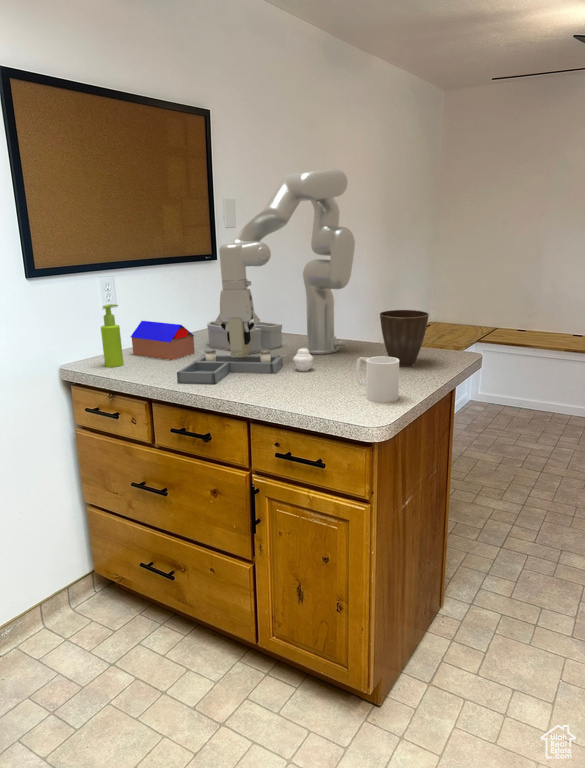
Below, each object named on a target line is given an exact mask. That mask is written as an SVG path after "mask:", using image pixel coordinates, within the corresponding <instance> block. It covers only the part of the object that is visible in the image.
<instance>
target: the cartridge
mask: <svg viewBox="0 0 585 768" xmlns="http://www.w3.org/2000/svg"><path fill="white" fill-rule="evenodd" d="M271 350H272V349H266V348H262V349H261V350H260V352H259V356H260V360H261V362H269V363H271V355H272V354H271V353H272V351H271Z"/></svg>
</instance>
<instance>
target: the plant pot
mask: <svg viewBox="0 0 585 768" xmlns="http://www.w3.org/2000/svg"><path fill="white" fill-rule="evenodd" d="M429 315H430V314H429V313H428V312H426V311H424V310H423V311H422V310H416V309H415V310H412V309H395V310H386V311H382V312H379V319H380V327H381V334H382V338H383V343H384V347H385V349H386V353H387V357H394V358H397V359H399V367H410V366H414V365H415V363H416V360H417V359H418V355H419V354H420V351H421V348H422V345H423V342H424V338H425V334H426V331H427V328H428V327H427V326H428V320H429Z"/></svg>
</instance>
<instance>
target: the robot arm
mask: <svg viewBox="0 0 585 768" xmlns="http://www.w3.org/2000/svg"><path fill="white" fill-rule="evenodd" d="M348 184H349V183H348V178H347V176H346V174H345V172H344V171H343V170H341V169H339V168H333V169H324V170H323V169H322V170H313V171H303V172H295V173H289V174H287V175H285V176H284V177H283V178H282V179H281V180H280V182H279V183H278V185H277V187H276V189H275V190H274V192H273V194H272V195H271V197H270V198H269V200H268V201H267V204H265V205H264V208H263V209H262V210H261V211H260V212H258V213H257V214H256V215H254V216H253V218H252V219H251V220H249V221H248V222H247V223H246V224H245V225H244V226H243V227H242V229H240V231H239V233H238V234H237V236H236V237H235V238H234V241H233V242H232V243H226V244H222V245H220V247H219V249H218V250H219V251H218V252H219V253H218V254H219V262H220V264H219V265H220V275H221V285H222V289H221V290H220V296H219V314H218V316H217V317H216V319H215V320H214V321H215V322H216V323H217V324H218V325H220V326H221V327H222V328H223V329H224V330H225V331H226V332H227V339H228V342H229V345H230V336H229V324H228V319H242V322H243V325H244V328H245V332H244V343H245V345H247V344H248V343H249V342H250V340H251V338H250V330H251V329H252V328H253V327H254V325H256V324H257V323H258V322H261V319H260V318H259V316H258V315H257V314H256V313H255V307H254V301H253V295H252V291H251V289H250V288H248V287H249V286H252V281H251V280H248V278H247V269H246V268H247V267H262V266H265V265H266V264H267V263H268V262H269V261H270V260H271V256H272V255H271V254H272V251H271V249H270V247H269V246H268V244H266V243H264V242H262V241H261V240H263V239H264V238H265V237H266V236H269V235H271V234H272V233H274V232H277V231H279V230H282V228H284V227H285V226H287V225H288V223H289V221H290V219H291V218H292V216H293V214H294V213H295V211H296V209H297V208H298V206H299V205H300V203H301V202H303V201H304V202H305V201H306V202H307V201H310V202H311V205H312V206H313V210H314V215H313V223H312V233H311V242H310V244H311V245H310V247H311V250H312V252H313V253H314V254H315V255H318V256H329V258H330V259H325V258H323V259H322V258H321V259H319V258H317V259H312V260H310V261H308V262H307V263H306V264H305V265H304V267H303V271H302V277H303V278H302V279H303V283H304V288H305V297H306V339H307V340H306V341H307V342H306V343H307V345H305V346H303V347H302V349H303V348H305V349H308V351H309V353H310V354H312V355H324V354H332V353H336V352H338V351H339V347H347V346H348V341H347V340H343V339H341V340H340V339H339V340H338V339H337V336H335V299H334V294H333V292H332V290H342V289H344V288H345V287H346V286H347V285H348V284H349V282H350V281H351V277H352V269H353V262H354V255H355V246H356V242H355V241H356V240H355V237H354V234H353V232H352V230H351V229H349V228H348V227H345V226H339V225H340V208H339V205H338V202H337V201H336V199H335V198H338V197H340V196H342V195H343V194H344V193H345V192H346V190H347V187H348ZM251 320H252V321H253V322H252V323H251V324H250V323H249V322H250V321H251ZM224 322H225V323H224Z"/></svg>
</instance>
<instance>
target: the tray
mask: <svg viewBox="0 0 585 768" xmlns="http://www.w3.org/2000/svg"><path fill="white" fill-rule="evenodd" d="M229 372H230V366H229V362H193V361H192V362H191V363H189V364H188V365H186V366H185V367H183V368H181V369H180V370H178V371H177V372H176V378H177V379H176V380H177V381H176V382H177V384H189V385H190V384H193V385H194V384H195V385H198V384H199V385H216V384H218V383H219V382H220V381H221V380H223V379H224V378H225V377H226V376H227V375H228V373H229ZM230 373H231V372H230ZM230 373H229V374H230ZM224 376H225V377H224ZM223 377H224V378H223ZM222 378H223V379H222ZM218 381H219V382H218ZM217 382H218V383H217Z"/></svg>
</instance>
